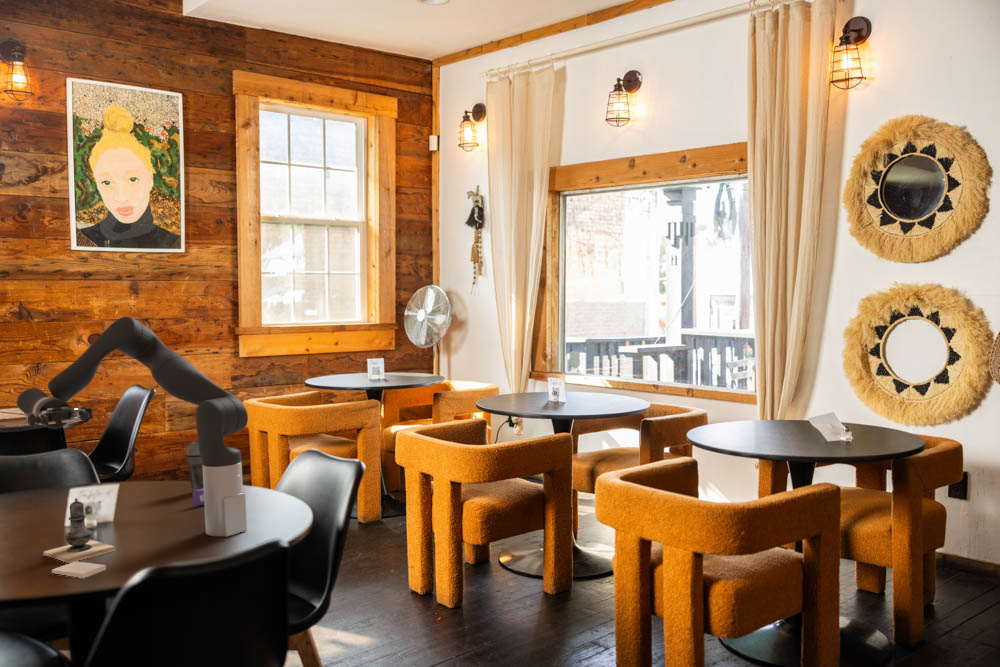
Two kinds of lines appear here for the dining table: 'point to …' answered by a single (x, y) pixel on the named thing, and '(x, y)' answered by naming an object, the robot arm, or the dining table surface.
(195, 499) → the snack package
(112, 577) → the dining table surface
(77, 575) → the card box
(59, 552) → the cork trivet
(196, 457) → the beverage cup
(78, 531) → the salt shaker
